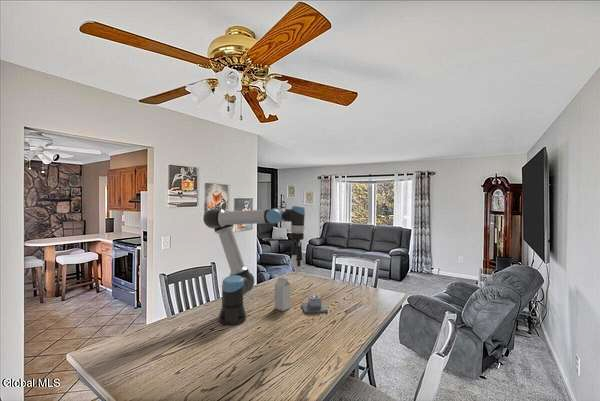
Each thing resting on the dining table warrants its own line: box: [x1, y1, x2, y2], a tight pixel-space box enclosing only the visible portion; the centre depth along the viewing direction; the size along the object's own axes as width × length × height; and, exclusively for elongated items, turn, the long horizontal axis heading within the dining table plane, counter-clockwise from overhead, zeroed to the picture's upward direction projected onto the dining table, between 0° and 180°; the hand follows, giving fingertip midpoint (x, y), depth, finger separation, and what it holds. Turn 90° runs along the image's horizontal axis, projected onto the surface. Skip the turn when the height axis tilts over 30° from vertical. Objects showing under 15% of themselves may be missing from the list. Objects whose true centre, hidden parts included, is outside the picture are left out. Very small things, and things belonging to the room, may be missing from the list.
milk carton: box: [274, 276, 292, 312], centre depth 179 cm, size 7×7×19 cm
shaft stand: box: [300, 294, 329, 315], centre depth 179 cm, size 14×14×8 cm
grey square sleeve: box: [307, 294, 322, 309], centre depth 179 cm, size 7×7×6 cm
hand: (295, 268), depth 167 cm, fingers open, 13 cm apart
